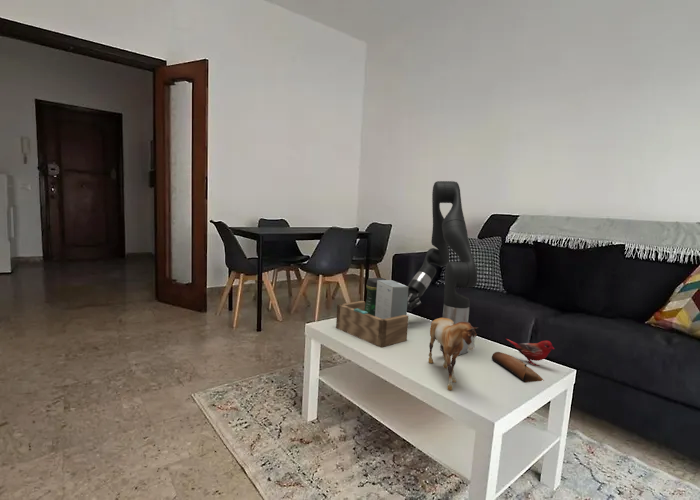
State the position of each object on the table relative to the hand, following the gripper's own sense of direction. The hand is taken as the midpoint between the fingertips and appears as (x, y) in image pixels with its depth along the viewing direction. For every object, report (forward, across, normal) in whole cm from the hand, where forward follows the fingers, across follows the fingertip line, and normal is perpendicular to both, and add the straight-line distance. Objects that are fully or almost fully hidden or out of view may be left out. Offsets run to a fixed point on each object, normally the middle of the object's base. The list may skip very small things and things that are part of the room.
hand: (398, 314), depth 174 cm
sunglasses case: (+4, +53, +6) cm, 54 cm away
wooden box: (+16, 0, -8) cm, 17 cm away
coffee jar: (+2, -17, +6) cm, 18 cm away
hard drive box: (+8, -1, +1) cm, 8 cm away
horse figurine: (+18, +43, -10) cm, 48 cm away
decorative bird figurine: (-4, +52, +12) cm, 53 cm away
